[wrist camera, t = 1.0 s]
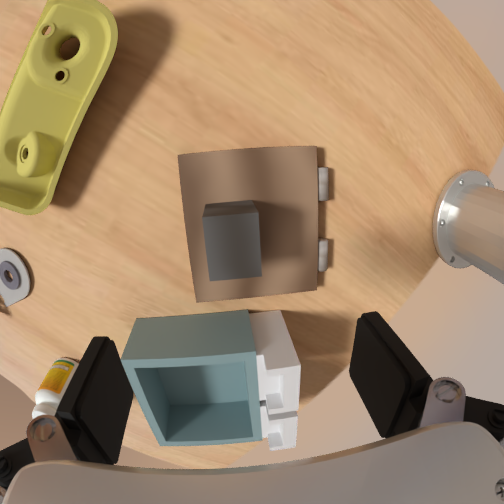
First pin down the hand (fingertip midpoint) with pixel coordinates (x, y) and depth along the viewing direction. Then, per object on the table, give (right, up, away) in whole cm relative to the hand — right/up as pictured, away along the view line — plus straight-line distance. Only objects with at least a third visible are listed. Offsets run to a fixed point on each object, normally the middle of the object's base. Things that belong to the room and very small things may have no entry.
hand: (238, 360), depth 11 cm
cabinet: (-4, -9, +23) cm, 25 cm away
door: (0, +7, +17) cm, 19 cm away
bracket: (-30, +1, +17) cm, 34 cm away
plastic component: (-19, +18, +11) cm, 29 cm away
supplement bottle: (-23, -12, +22) cm, 34 cm away
